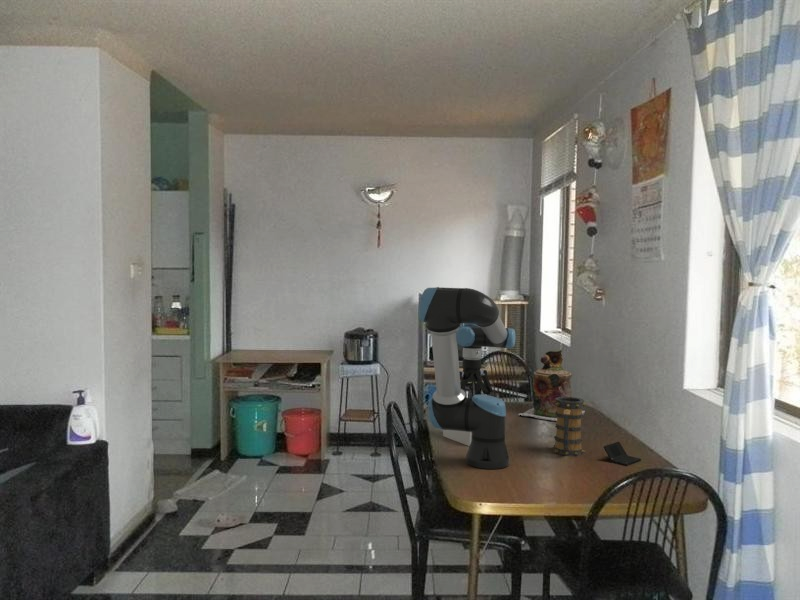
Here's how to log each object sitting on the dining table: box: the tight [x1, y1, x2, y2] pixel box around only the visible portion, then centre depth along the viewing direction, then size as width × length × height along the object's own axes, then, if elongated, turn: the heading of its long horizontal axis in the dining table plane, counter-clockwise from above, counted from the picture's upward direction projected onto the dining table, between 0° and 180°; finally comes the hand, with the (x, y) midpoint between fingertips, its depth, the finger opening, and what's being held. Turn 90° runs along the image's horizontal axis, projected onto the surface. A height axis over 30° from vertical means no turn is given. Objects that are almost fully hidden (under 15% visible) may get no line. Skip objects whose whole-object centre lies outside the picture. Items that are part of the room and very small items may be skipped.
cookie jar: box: [518, 349, 585, 422], centre depth 312 cm, size 25×25×32 cm
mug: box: [550, 396, 588, 457], centre depth 246 cm, size 13×17×20 cm
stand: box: [442, 429, 472, 447], centre depth 265 cm, size 14×18×7 cm
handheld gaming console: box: [603, 441, 642, 467], centre depth 239 cm, size 12×7×10 cm
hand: (470, 411), depth 265 cm, fingers open, 13 cm apart
